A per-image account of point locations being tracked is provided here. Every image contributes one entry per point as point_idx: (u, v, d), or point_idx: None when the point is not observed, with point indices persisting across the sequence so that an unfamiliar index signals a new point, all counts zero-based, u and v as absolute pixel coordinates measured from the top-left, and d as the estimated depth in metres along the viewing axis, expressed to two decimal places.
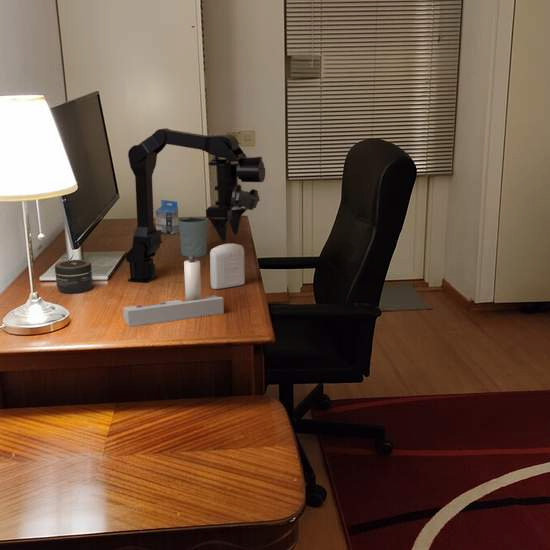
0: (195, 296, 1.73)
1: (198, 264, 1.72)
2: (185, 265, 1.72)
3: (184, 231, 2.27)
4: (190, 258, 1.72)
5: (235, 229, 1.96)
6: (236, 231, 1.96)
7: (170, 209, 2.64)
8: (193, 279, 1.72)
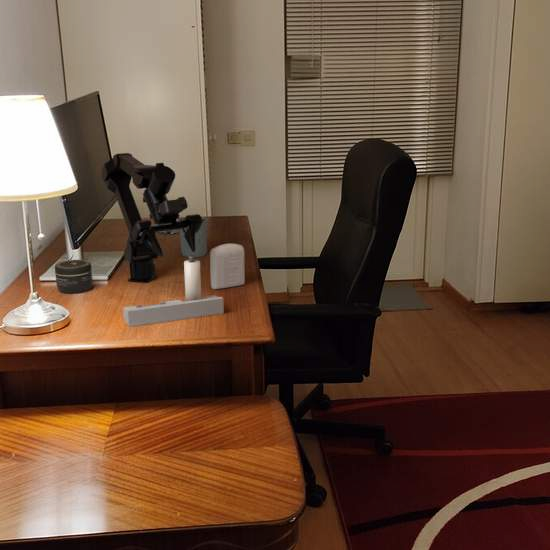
0: (195, 296, 1.73)
1: (198, 264, 1.72)
2: (185, 265, 1.72)
3: None
4: (190, 258, 1.72)
5: (191, 246, 1.82)
6: (193, 248, 1.81)
7: None
8: (193, 279, 1.72)
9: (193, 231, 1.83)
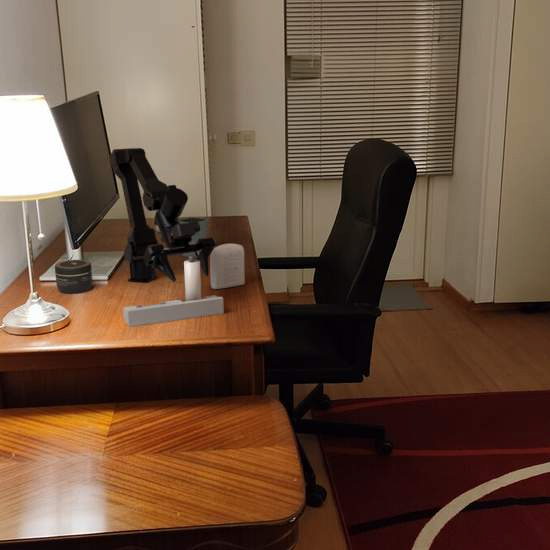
0: (195, 296, 1.73)
1: (198, 264, 1.72)
2: (185, 265, 1.72)
3: None
4: (190, 258, 1.72)
5: (205, 270, 1.77)
6: (206, 272, 1.77)
7: None
8: (193, 279, 1.72)
9: (206, 254, 1.78)
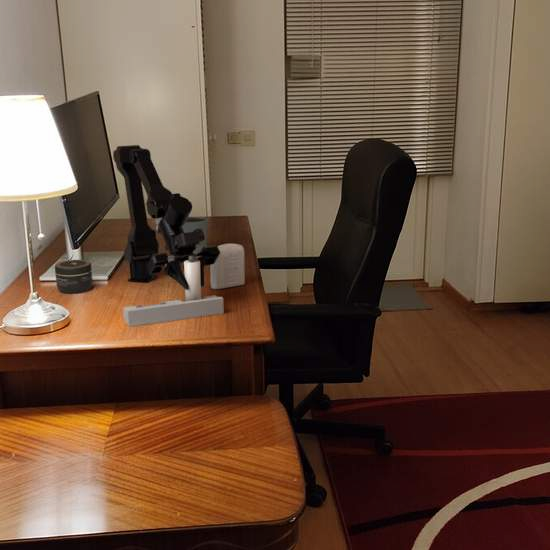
0: (195, 296, 1.73)
1: (198, 264, 1.72)
2: (185, 265, 1.72)
3: (184, 231, 2.27)
4: (190, 258, 1.72)
5: None
6: (201, 282, 1.74)
7: None
8: (193, 279, 1.72)
9: (202, 265, 1.76)
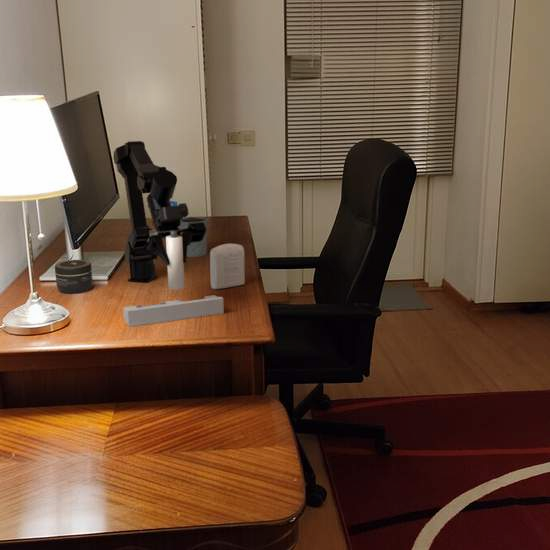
0: (176, 272, 1.69)
1: (179, 239, 1.68)
2: (166, 240, 1.68)
3: None
4: (172, 233, 1.68)
5: (183, 257, 1.71)
6: (183, 258, 1.70)
7: None
8: (174, 255, 1.68)
9: (186, 241, 1.72)
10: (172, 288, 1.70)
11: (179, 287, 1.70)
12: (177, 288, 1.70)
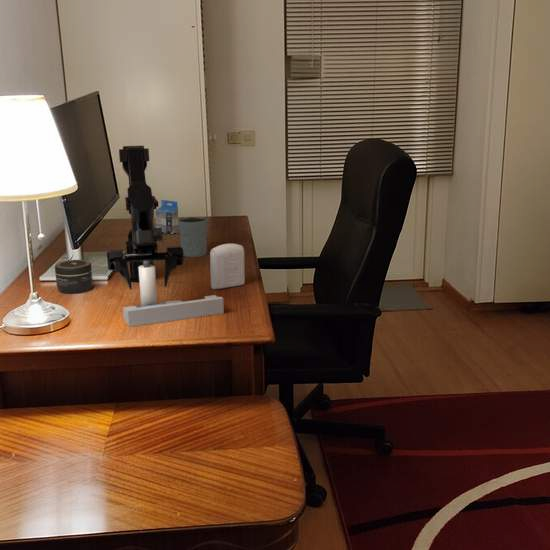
0: (147, 302, 1.69)
1: (151, 270, 1.67)
2: None
3: (184, 231, 2.27)
4: (144, 263, 1.67)
5: (164, 281, 1.70)
6: (164, 282, 1.69)
7: (170, 209, 2.64)
8: (144, 285, 1.68)
9: (169, 264, 1.71)
10: None
11: None
12: None
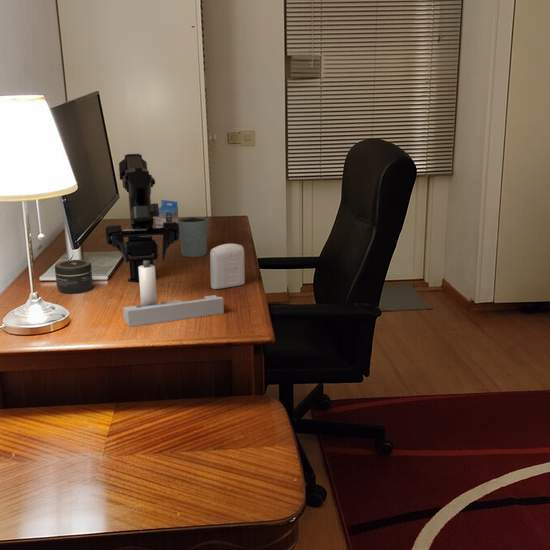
0: (147, 302, 1.69)
1: (151, 270, 1.67)
2: None
3: (184, 231, 2.27)
4: (144, 263, 1.68)
5: (162, 255, 1.77)
6: (162, 256, 1.77)
7: (170, 209, 2.64)
8: (144, 285, 1.68)
9: (166, 239, 1.78)
10: None
11: None
12: None
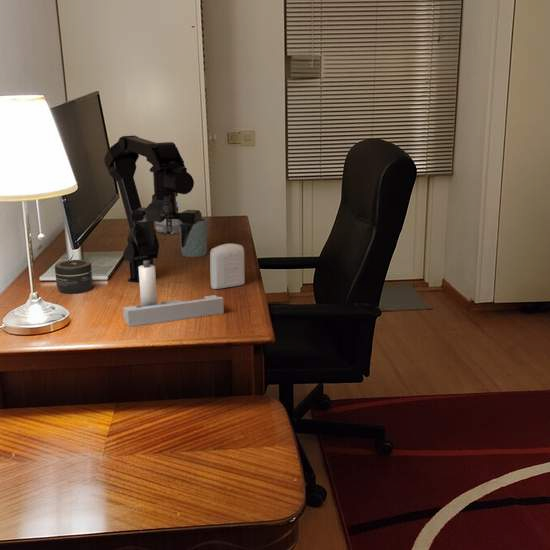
0: (147, 302, 1.69)
1: (151, 270, 1.67)
2: None
3: None
4: (144, 263, 1.68)
5: None
6: None
7: None
8: (144, 285, 1.68)
9: (184, 230, 1.84)
10: None
11: None
12: None
